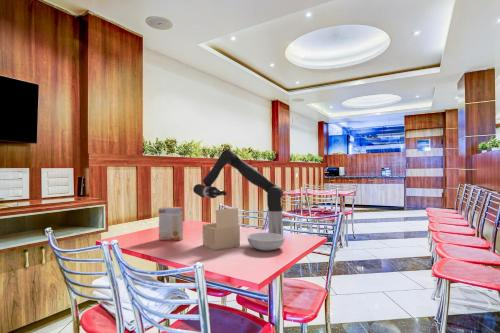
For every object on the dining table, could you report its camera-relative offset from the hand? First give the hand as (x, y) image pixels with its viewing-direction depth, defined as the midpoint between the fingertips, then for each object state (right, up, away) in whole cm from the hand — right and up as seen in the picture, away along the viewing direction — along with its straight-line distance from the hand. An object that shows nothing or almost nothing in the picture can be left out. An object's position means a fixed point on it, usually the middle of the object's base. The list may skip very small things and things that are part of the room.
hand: (222, 193), depth 174 cm
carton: (0, -30, -7) cm, 31 cm away
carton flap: (+4, -12, -13) cm, 18 cm away
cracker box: (-34, -31, +8) cm, 47 cm away
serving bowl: (+26, -30, -14) cm, 42 cm away
